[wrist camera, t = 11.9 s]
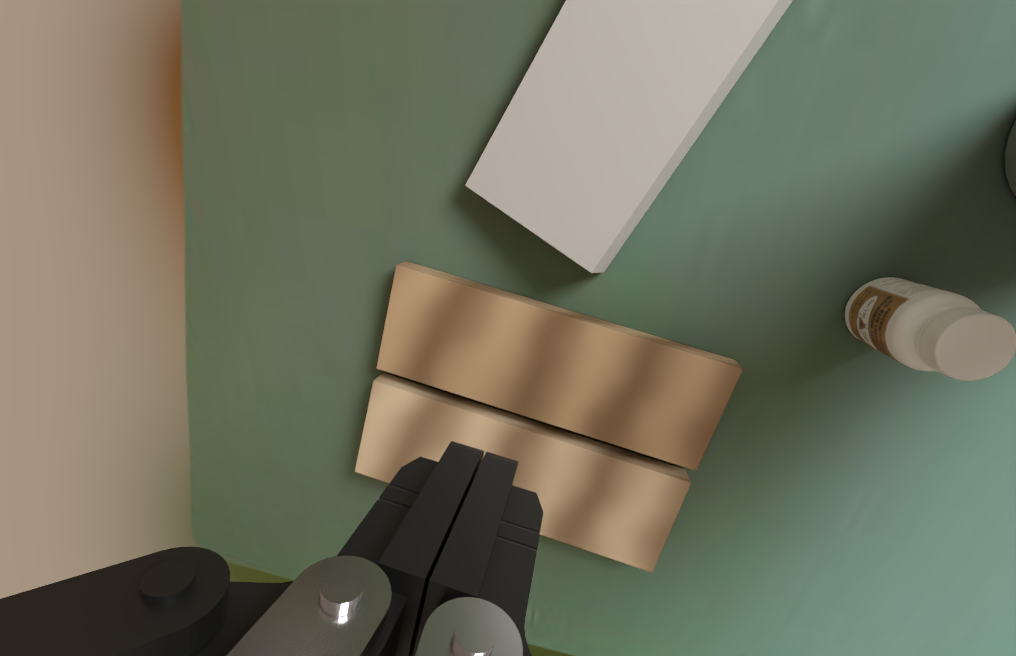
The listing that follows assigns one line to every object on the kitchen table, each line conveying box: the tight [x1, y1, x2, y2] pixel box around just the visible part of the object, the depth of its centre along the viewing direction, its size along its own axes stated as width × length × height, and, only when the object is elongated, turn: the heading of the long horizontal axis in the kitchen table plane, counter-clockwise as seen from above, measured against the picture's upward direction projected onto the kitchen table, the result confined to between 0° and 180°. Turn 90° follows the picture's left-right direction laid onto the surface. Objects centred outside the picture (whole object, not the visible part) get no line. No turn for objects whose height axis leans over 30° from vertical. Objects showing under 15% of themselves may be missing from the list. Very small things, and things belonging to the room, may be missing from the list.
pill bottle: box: [845, 277, 1016, 381], centre depth 26 cm, size 4×4×8 cm
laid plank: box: [377, 261, 743, 471], centre depth 34 cm, size 24×8×2 cm, turn 75°
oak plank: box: [355, 373, 691, 572], centre depth 36 cm, size 24×8×2 cm, turn 75°
